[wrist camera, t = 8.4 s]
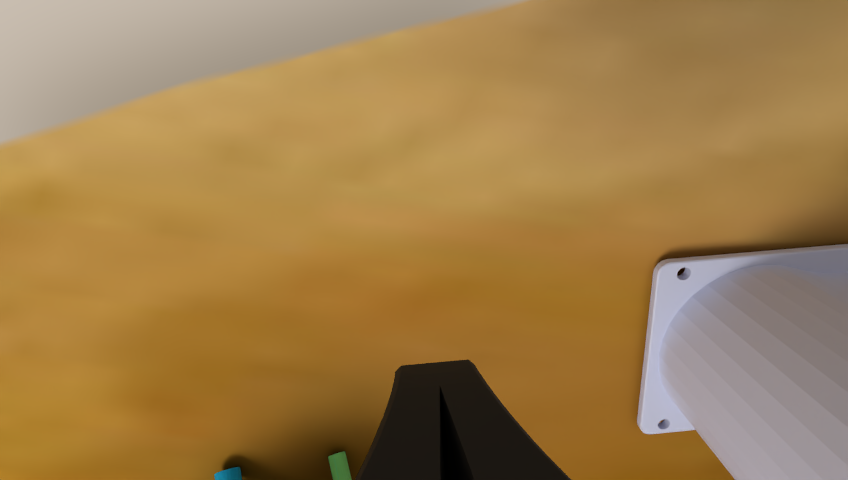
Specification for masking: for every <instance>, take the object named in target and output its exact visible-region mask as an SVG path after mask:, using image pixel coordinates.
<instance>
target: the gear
mask: <svg viewBox="0 0 848 480" xmlns="http://www.w3.org/2000/svg"><path fill="white" fill-rule="evenodd" d="M328 459H329V464H330V469H331V473H332V478H333V480H352V479H351V475H350V470H349V466H348V462H347V457H346V453H345V451H344V452H339V453H336V454H333V455H331V456H328ZM214 476H215V480H242V476H241V469H240V467H235V468H230V469H227V470H223V471H220V472H218V473H216V474H214Z"/></svg>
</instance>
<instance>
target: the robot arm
mask: <svg viewBox="0 0 848 480" xmlns="http://www.w3.org/2000/svg"><path fill="white" fill-rule="evenodd" d="M684 267H685V271H684V273H683V274H681V275H679V276H677V273H678V271H679V270H680V269H681V268H684ZM664 419H665V420H664ZM661 420H664V421H663V422H661V423H659V422H660V421H661ZM637 424H638V426H639V428H640V429H641V430H642V432H643V433H646V434H657V433H668V432H678V431H688V430H696V431H697V432H698V433H699V435H700V436H701V437H702V438H703V440H704V441H705V442H706V443H707V445H708V446H709V447H710V449H711V450H712V451H713V452H714V454H715V455H716V456H717V457H718V459H719V460H720V461H721V462H722V464H723V465H724V466H725V467H726V469H727V470H728V471H729V472H730V474H731V475H732V476H733V477H734V479H735V480H848V244H841V245H829V246H817V247H805V248H793V249H781V250H769V251H757V252H745V253H733V254H721V255H709V256H697V257H686V258H674V259H666V260H662V261H661V262H659V263H658V264H657V265H656V267H655V269H654V272H653V280H652V289H651V298H650V308H649V317H648V326H647V335H646V344H645V353H644V362H643V371H642V381H641V390H640V399H639V408H638V417H637ZM355 480H571V479H570V478H569V477H568V476H567V475H566V474H565V473H564V472H563V471H562V470H561V469H560V468H559V467H558V466H557V465H556V464H555V463H554V462H553V461H552V460H551V459H550V458H549V457H548V456H547V455H546V454H545V453H544V452H543V451H542V449H541V448H540V447H539V446H538V445H537V444H536V443H535V442H534V441H533V440H532V439H531V437H530V436H529V435H528V434H527V433H526V432H525V430H524V429H523V428H522V427H521V426H520V425H519V423H518V422H517V421H516V420H515V419H514V418H513V417H512V415H511V414H510V413H509V412H508V410H507V409H506V408H505V407H504V406H503V404H502V403H501V402H500V400H499V399H498V398H497V396H496V395H495V394H494V393H493V391H492V390H491V389H490V387H489V386H488V384H487V383H486V382H485V380H484V379H483V377H482V376H481V374H480V373H479V371H478V370H477V368H476V367H475V365H474V364H473V363H472V362H471V361H469V360H459V361H448V362H437V363H426V364H415V365H404V366H401V367H400V368H399V369H398V370H397V371H396V372H395V379H394V384H393V388H392V392H391V395H390V399H389V402H388V405H387V407H386V410H385V413H384V416H383V419H382V421H381V423H380V426H379V428H378V431H377V433H376V436H375V438H374V441H373V443H372V445H371V448H370V450H369V452H368V454H367V456H366V458H365V460H364V462H363V464H362V466H361V468H360V471H359V473H358V475H357V477H356V479H355Z"/></svg>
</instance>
